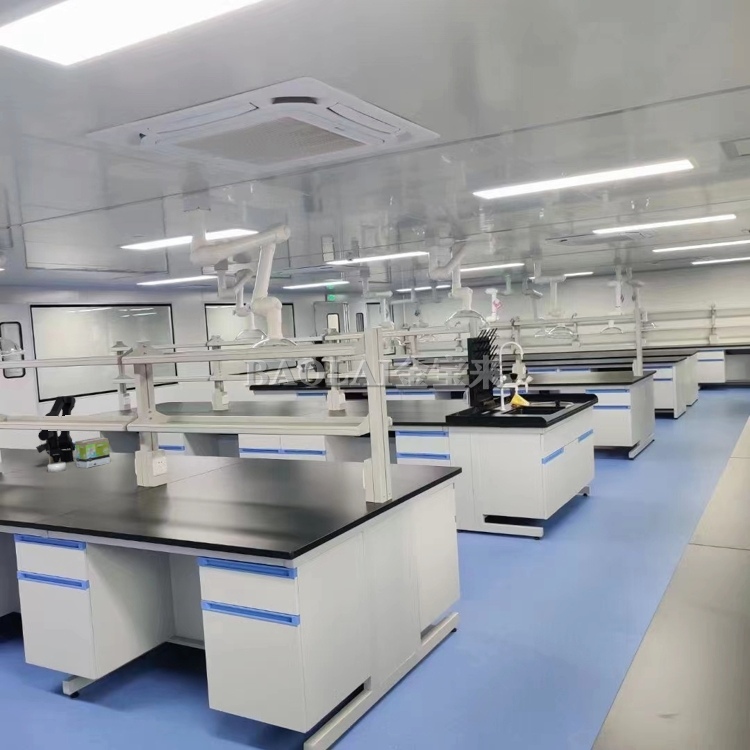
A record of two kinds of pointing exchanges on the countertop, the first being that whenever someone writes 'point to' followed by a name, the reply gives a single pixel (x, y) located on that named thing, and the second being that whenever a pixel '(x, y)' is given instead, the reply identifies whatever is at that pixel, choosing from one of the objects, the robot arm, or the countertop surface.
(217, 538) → the countertop surface
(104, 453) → the tea box
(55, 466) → the ceramic puck
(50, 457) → the birch block
